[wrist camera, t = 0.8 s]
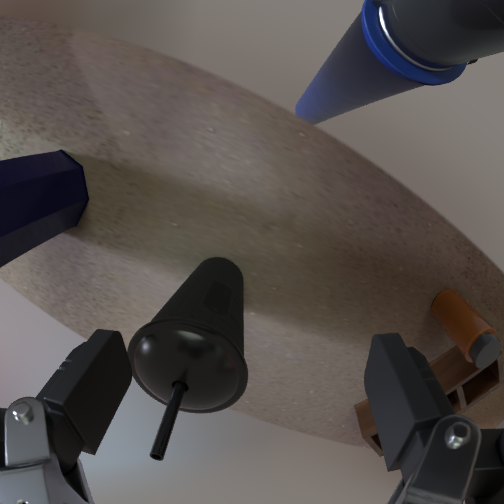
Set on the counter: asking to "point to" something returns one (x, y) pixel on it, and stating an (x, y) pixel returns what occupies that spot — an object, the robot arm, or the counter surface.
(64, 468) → the robot arm
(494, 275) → the counter surface
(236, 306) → the drinking cup
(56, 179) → the bottle
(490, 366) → the holder
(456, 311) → the spice bottle
